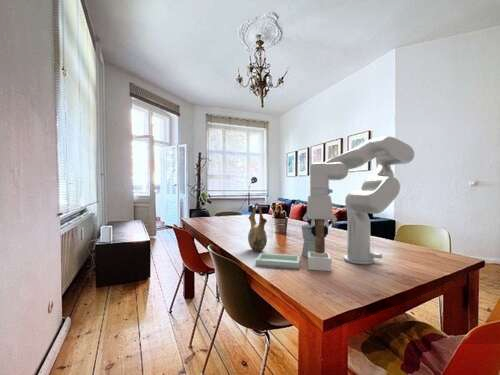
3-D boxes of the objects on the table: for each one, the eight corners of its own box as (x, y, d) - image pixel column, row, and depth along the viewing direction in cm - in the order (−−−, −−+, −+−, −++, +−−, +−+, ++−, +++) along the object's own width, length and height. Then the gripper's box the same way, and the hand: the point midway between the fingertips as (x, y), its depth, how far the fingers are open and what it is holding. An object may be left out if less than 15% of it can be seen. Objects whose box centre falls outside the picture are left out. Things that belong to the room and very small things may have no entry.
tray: (299, 261, 111) (299, 255, 111) (299, 269, 101) (299, 262, 100) (260, 258, 115) (260, 252, 115) (255, 265, 104) (255, 259, 104)
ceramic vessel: (273, 253, 124) (273, 203, 123) (257, 255, 119) (257, 204, 119) (257, 246, 138) (257, 201, 138) (242, 248, 134) (242, 202, 134)
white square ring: (329, 264, 107) (329, 252, 107) (331, 271, 98) (331, 258, 98) (307, 262, 109) (307, 251, 109) (307, 269, 100) (308, 257, 100)
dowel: (324, 250, 105) (324, 217, 105) (325, 253, 101) (324, 219, 101) (314, 250, 106) (314, 217, 106) (314, 252, 102) (314, 219, 102)
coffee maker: (319, 260, 112) (319, 220, 112) (299, 258, 115) (299, 219, 115) (320, 252, 127) (321, 216, 126) (303, 250, 129) (303, 216, 129)
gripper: (339, 192, 105) (339, 235, 105) (299, 192, 109) (299, 233, 109) (341, 192, 98) (342, 238, 98) (298, 192, 102) (299, 237, 102)
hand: (319, 235), depth 104 cm, fingers closed on dowel, 4 cm apart
